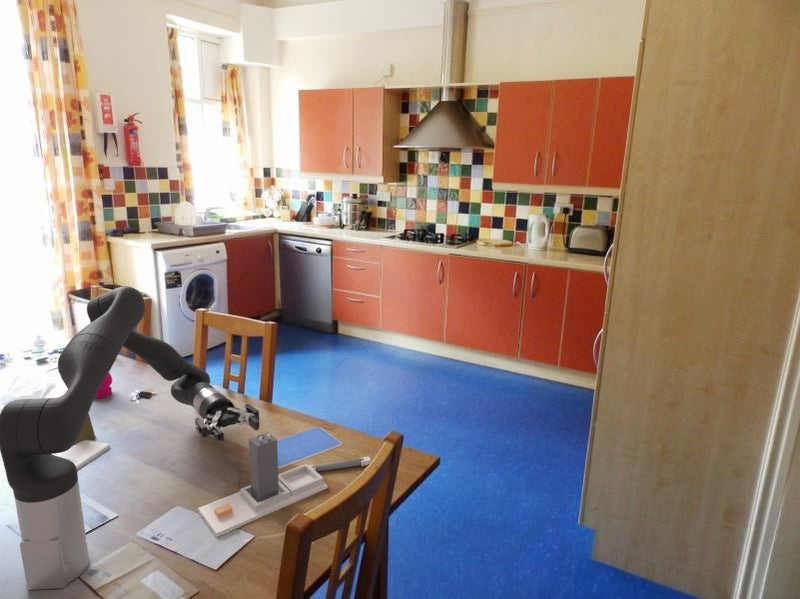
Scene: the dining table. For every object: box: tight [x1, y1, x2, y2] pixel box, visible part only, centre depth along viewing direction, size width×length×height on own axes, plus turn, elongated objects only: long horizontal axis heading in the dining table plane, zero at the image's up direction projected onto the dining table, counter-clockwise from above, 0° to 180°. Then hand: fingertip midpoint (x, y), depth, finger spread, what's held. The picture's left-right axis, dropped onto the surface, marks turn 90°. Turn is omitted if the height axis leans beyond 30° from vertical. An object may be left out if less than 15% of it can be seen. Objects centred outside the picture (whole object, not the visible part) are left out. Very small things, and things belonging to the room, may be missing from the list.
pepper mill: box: [95, 372, 113, 399], centre depth 161 cm, size 7×7×20 cm
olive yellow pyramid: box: [72, 413, 96, 447], centre depth 136 cm, size 6×6×11 cm
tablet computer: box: [277, 426, 343, 469], centre depth 138 cm, size 19×13×1 cm, turn 129°
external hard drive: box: [57, 440, 111, 470], centre depth 129 cm, size 2×8×12 cm
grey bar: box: [305, 456, 372, 473], centre depth 128 cm, size 16×2×2 cm, turn 107°
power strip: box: [197, 462, 328, 538], centre depth 115 cm, size 26×10×2 cm, turn 131°
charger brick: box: [248, 431, 279, 502], centre depth 114 cm, size 4×5×15 cm
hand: (240, 431), depth 121 cm, fingers open, 8 cm apart
